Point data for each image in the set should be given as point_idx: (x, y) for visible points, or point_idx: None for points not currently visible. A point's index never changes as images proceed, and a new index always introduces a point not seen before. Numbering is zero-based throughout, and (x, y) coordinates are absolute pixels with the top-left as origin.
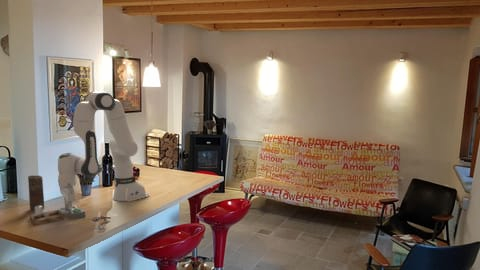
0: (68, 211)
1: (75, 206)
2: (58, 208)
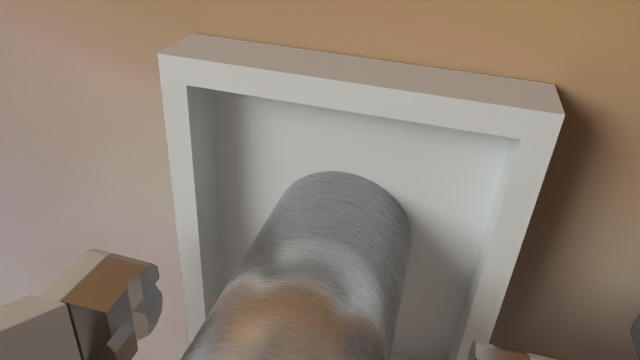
0: (494, 317)
1: (261, 86)
2: None
